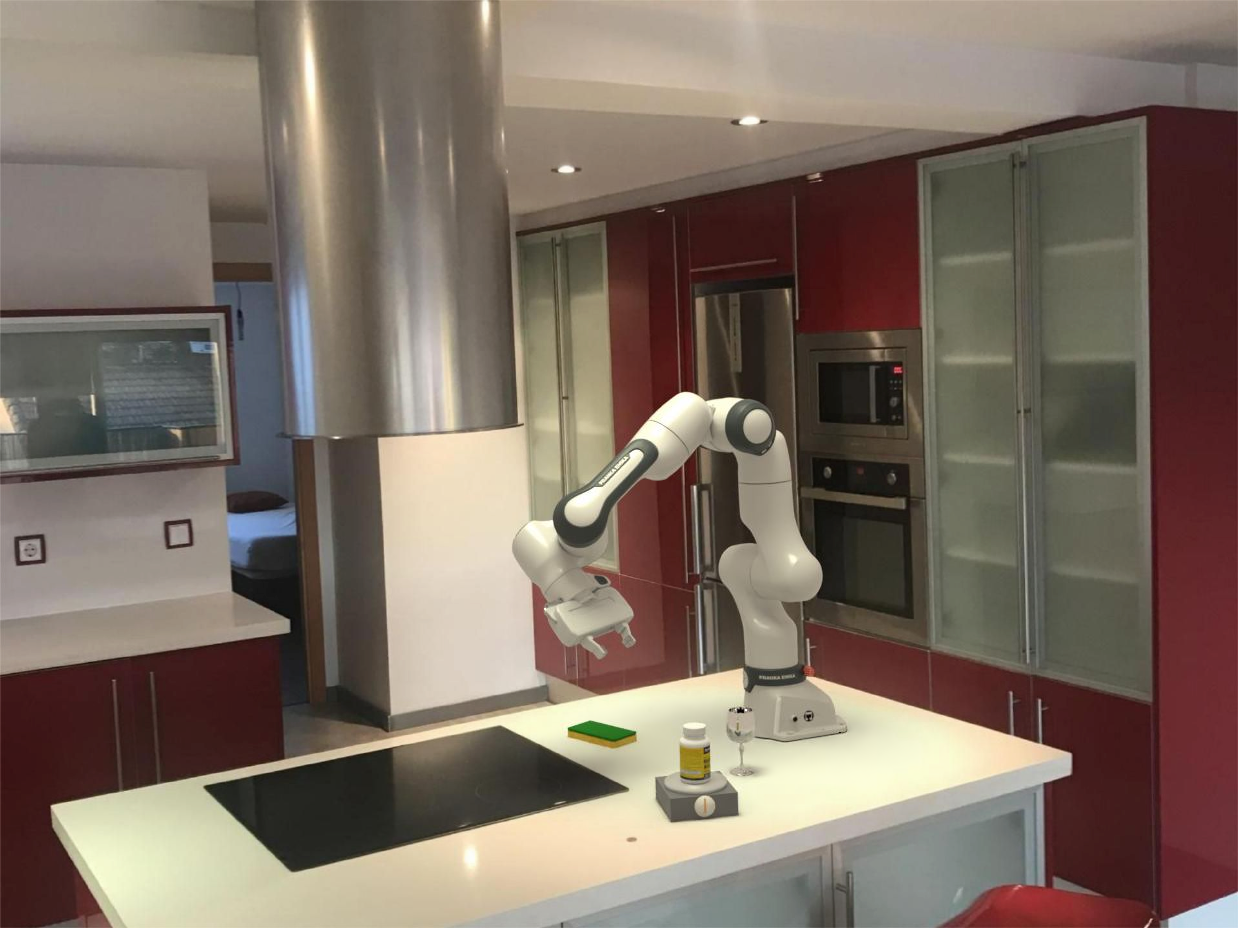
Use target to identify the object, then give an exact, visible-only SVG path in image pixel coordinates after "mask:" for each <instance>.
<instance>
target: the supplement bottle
mask: <svg viewBox="0 0 1238 928" xmlns="http://www.w3.org/2000/svg"><path fill="white" fill-rule="evenodd" d="M706 729H707V726H706V724H705V723H702V722H688V723H684V724H683V726H682V731H683V732H682V733H683V736H682V737H680V739H679V744H678V745H679V772H680V779H681V781H683V782H685V783H689V784H702V783H706V782H708V781H709V780H710V778H711V767H712V766H711V741H710V738H709V737H708V736H707V735H706V733H707V730H706Z"/></svg>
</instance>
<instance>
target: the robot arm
mask: <svg viewBox="0 0 1238 928" xmlns="http://www.w3.org/2000/svg"><path fill="white" fill-rule="evenodd" d="M698 447H700V448H701V449H704V450H708V451H716V452H721V453H733V455H734V456H735V458H736V462H737V468H738V469H737V477H738V478H737V479H738V482H737V483H738V502H739V504H738V505H739V515H740V520H741V522H742V523H743V524H744V525H745V526H746V527H747V528H748V530H750V532H751V534H752V537H754V540H755V542H756V543H753V542H752V543H751V542H749V543H748V542H747V543H739V544H734V545H731V546H729V547H728V548H727V549H725V550H724V551H723V553H722V554H721V557H720V558H719V561H718V562H719V563H718V575H719V578H720V580H721V582H722V584H723V585H724V586H725V587H726V588H727V590H729V593H730V594H731V595H732V597H733V600H734V603H735V604H736V607H737V610H738V612H739V615H740V619H741V623H742V628H743V629H742V630H743V641H744V662H743V664H742V666H743V667H742V669H743V670H742V684H743V685H742V687H743V689H744V690H743V691H744V699H743V706H742V707H748V708H751V709H753V712H754V716H755V721H756V734H755V736H754V737H757V738H766V739H772V740H776V741H781V742H789V741H790V742H791V741H796V740H802V739H809V738H814V737H815V738H816V737H820V736H827V735H828V736H829V735H833V734H840V733H839V732H841V733H845V732H846V731H847V730H848V726H847V723H846V721H845V719H844V718H843V717H841V716H839V715H837V713H836V709H835V705H834V703H833V700H832V698H831V697H830V696H829V695H828V694H827V693H826V692H825V691H823V689H821V688H820V687H818V686H817V685H816V684H815V683H813V682H811V681H810V680H809V679H807V678H811V677H813V676H814V675H815V669H814V668H813V667H812V666H810V665H806V664H804V663H802V662H801V661H799V657H798V655H799V654H798V653H799V652H798V627H797V625H796V623H795V622H794V621H793V619H792V618H791V617H790V616H789V615H788V613H787V612H786V610H785V609H784V606H783V604H782V602H785V603H796V602H797V603H798V602H805V601H810V600H811V599H813V598H815V597H816V596H817V594H818V592H819V590H820V589H821V586H822V583H823V578H824V577H823V576H824V575H823V570H822V566H821V563H820V562H819V560H818V559H817V558H816V557H815V556H814V555H813V554H812V553H811V552H810V550H809V549H808V547H807V545H806V544H805V542H804V540H803V537H802V536H801V533H800V530H799V528H798V524H797V521H796V517H795V511H794V498H793V481H792V468H791V461H790V454H789V449H788V445H787V441H786V438H785V436H784V434H783V433H782V432H781V431H779V430H777V428H776V424H775V420H774V417H773V414H772V413H771V411H770V409H769V408H768V407H767V406H766V404H763V403H761V401H757V400H755V399H750V398H745V399H744V398H741V397H723V398H707V399H704V398H702V397H701V396H699V395H698V394H696V393H693V392H689V391H683V392H680V393H678V394H675V396H673V397H672V398H671V399H669V400H668V401H667V402H665V403H664V404H663V405H661V407H660V408H658V409H657V410H656V411H655V412H654V413H653V414H652V415H651V416H650V417H649V419H647V420H646V422H645V423H644V424H643V425H642V426H641V427H640V428H639V430H638V431H637V432H636V433H635V435H633V437H632V438H631V440H630V441H629V442H628V443H627V444H626V446H625V447H624V448H623V449H622V450H621V451H620V452H619V453H617V454H616V456H615V457H614V458H613V459H612V460H610V461H609V462H608V463H607V464H606V465H605V467H604V468H602V469H601V471H600V472H599V473H598V474H596V476H594V478H592V479H591V480H590V481H589V482H588V483H587V484H584V486H582V487H580V488H578V489H576V490H574V491H572V492H570V493H568V494H566V495H565V496H563V497H562V498H561V499H560V500H559V501H558V503H557V504H556V505H555V508H554V510H553V513H552V519H551V520H531V521H528V522H527V523H525V524H524V525H523V526H522V527H521V528H520V529H519V530H518V532H517V533H516V535H515V537H514V539H513V540H512V544H511V545H512V546H511V552H512V554H513V557H514V559H515V561H516V563H517V564H518V565H519V567H520V568H521V569H522V571H523V572H524V573H525V575H526V576H527V578H528V579H529V580H530V582H532V583H533V584H535V585H536V586H537V587H538V588H539V589H540V592H541V594H542V595H543V597H544V599H545V600H546V601H547V602H546V603H545V604H544V606H543V613H544V616H546V617H547V621H548V624H549V626H550V628H551V630H552V631H553V632H554V635H556V637H557V638H558V639H559V641H560V642H561V643H562V645H563V646H566V647H568V648H570V647H571V648H572V647H574V646H577V645H581V646H582V648H583V649H585V650H587V651H589V652H590V653H593V654H594V656H595V658H597V660H602V659H603V658H605V657H606V656H607V655H608V650H607V649H606V647H605V646H604V645H600V644H598V643H597V642H596V641H595V640H594V639H595V638H599V637H601V636H603V635H605V634H608V633H612V632H613V631H615V632H616V633H617V634H620V636H621V637H622V640H621V643H622V644H623V645H624V647H625V648H630V647H633V646H634V644H636V639H635V638H634V636H633V635H632V632H631V629H630V625H629V623H630V622H631V620H633V619H634V616H635V614H634V611H633V609H632V607H631V605H630V604H629V603H628V602H627V600H626V599H625V598H624V596H623V595H622V594H620V592H619V591H618V590H617V589H616V588H614V587H612V586H611V584H612V582H611V580H610V579H609V578H608V577H607V576H606V575H601V574H595V573H594V574H593V573H590V572H585V571H584V570H583V568H585V567H586V566H588V565H590V564H593V563H594V562H596V561H597V560H599V559H600V558H602V556H604V553H605V552H606V550H607V549H608V545H609V529H608V521H609V517H610V515H611V512H612V510H613V509H614V507H615V506H616V505H617V504H618V503H619V502H620V500H621V499H622V498H624V497H625V496H626V494H627V493H628V492H629V491H631V489H632V488H633V487H635V485H636V484H637V483H638V482H640V481H641V480H643V479H648V480H649V481H650V480H651V481H663V480H667V479H668V478H669V477H670V476H672V475H673V474H674V473H676V472H677V471H678V470H679V469H680V468H681V467H682V466H683V465H684V464H685V463H686V462H687V460H688V459H689V458H690V457H691V456H692V454H694V452H695V451H696V449H697V448H698Z"/></svg>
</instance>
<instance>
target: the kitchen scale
mask: <svg viewBox="0 0 1238 928" xmlns="http://www.w3.org/2000/svg"><path fill="white" fill-rule="evenodd" d="M654 778H655V780H654V782H655V788H654V789H655V800H656V801H657V802H658V805H659V806H660V807H661V809H662V811H663V812H664V814H665V815H666V816H667V818H668V820H669V821H670V822H671V823H672V821H673V822H681V821H691V820H701V819H702V820H703V819H709V818H710V819H712V818H721V817H732V816H739V792H738V791H737V789H736V788H735V787H734V786H733V785H732V784H731V782H730V781H729V780H728V779H727V777H726V776H725V775H724V774H723V772H721V770H716V771H715V770H714V771H711V778H710V780H709V781H708V782H706V783H702V784H689V783H685V782H683V781H681V779H680V771H678V772H673V773H671V774H669V775H663V776H662V775H661V776H654Z"/></svg>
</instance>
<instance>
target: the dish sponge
mask: <svg viewBox="0 0 1238 928" xmlns="http://www.w3.org/2000/svg"><path fill="white" fill-rule="evenodd" d="M567 737H568V738H571V739H575V740H579V741H581V742H586V743H589V744H590V743H591V744H594V745H598V746H602V747H604V748H605V747H606V748H609V749H618V748H621V747H623V746H627V745H629V744H632V743H635V742H637V738H638V737H637V731H635V730H631V729H627V728H623V727H619V726H615V725H612V724H607V723H604V722H603V723H602V722H598V721H594V720H588V721H583V722H581V723H577V724H574V725H572V726H568V727H567Z"/></svg>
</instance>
